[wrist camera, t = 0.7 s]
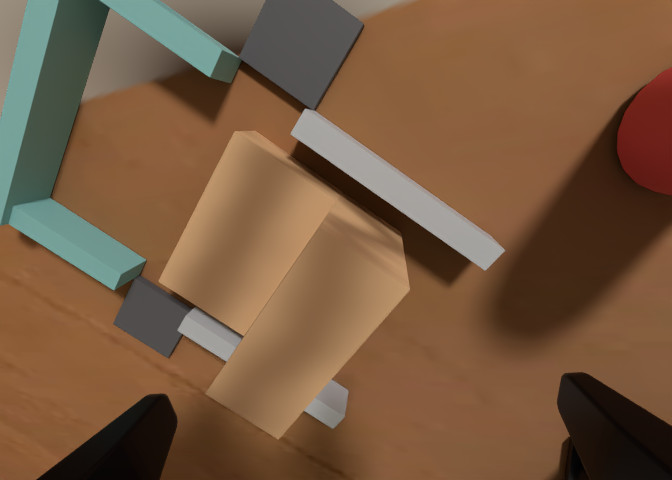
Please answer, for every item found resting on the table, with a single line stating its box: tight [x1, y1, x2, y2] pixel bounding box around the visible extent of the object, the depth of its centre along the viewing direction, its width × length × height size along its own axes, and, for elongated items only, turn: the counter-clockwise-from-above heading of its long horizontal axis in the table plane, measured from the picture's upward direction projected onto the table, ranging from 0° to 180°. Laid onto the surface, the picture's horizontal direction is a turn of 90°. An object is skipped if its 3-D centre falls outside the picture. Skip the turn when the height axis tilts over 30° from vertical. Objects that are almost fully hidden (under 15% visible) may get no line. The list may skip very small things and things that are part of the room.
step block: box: [159, 131, 410, 439], centre depth 19 cm, size 11×11×8 cm
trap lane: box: [0, 0, 505, 429], centre depth 21 cm, size 28×27×3 cm
